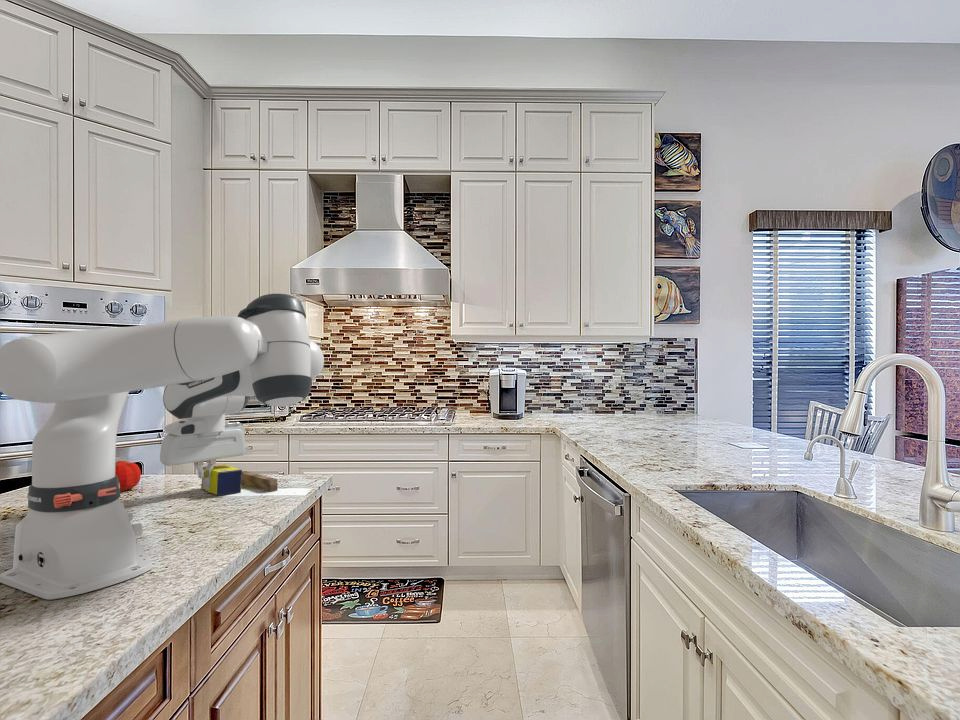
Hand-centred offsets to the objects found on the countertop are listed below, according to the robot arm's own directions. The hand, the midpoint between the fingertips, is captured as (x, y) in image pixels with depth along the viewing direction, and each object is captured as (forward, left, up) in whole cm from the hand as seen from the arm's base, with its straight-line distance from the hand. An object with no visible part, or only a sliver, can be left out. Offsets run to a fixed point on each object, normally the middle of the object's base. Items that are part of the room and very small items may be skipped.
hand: (204, 477), depth 128 cm
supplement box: (-6, -4, -1) cm, 7 cm away
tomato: (+22, +12, -5) cm, 26 cm away
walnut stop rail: (-4, -12, -4) cm, 14 cm away
